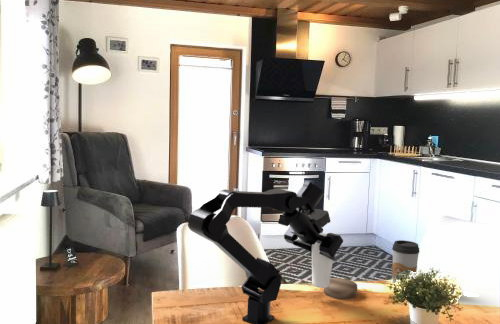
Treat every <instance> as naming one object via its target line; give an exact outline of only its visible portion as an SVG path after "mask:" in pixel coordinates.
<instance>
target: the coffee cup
mask: <svg viewBox="0 0 500 324" xmlns="http://www.w3.org/2000/svg"><path fill="white" fill-rule="evenodd" d="M391 250H392V284H393V283H395V282H396V279H395V276H396V274H399V273H401V272H403V271H405V270H411V271H413V272H416V273H417V270H418V260H419V254H420V247H419V244H418V243H417V242H415V241H410V240H403V239H402V240H401V239H400V240H395V241H394V242H393V244H392V247H391Z"/></svg>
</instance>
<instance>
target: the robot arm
mask: <svg viewBox="0 0 500 324" xmlns="http://www.w3.org/2000/svg"><path fill="white" fill-rule="evenodd" d="M323 197H324V191H323V189H321V188H320V187H319V186H317V185H316V184H313V182H312V181H310V180H305V181H304V183H303V184H302V186H301V188H299V190H298V191H297V193H296V192H295V191H292V190H286V189H282V188H273V189H268V190H266V191H263V192H262V191H261V192H260V191H244V190H243V191H242V190H241V191H240V190H229V189H222V190H220V191H219V192H217V193H216V194H215V195H214V196H213V197H212V198H210V199H208V200H207V201H205V202H203V203H202V204H201V205H200V206H199V207H198V208H197V209H195V210H193V211H192V212H191V213H190V214H189V217H188V220H187V227H188V229H189V230H190V231H192V232H193V233H195V234H197V236H200V237H202V238H204V239H206V240H207V241H210V242H212V243H213V244H214V245H215V246H216V247H218V248H219V249H220V251H222V252H223V253H224V254H225V255H226V256H228V257H229V258H230V259H231V260H232V261H233V262H234V263H235V264H237V265H238V267H240V268H241V269H242V270H243V271H244V272H245V275H246V280H245V281H244V282H243V284H242V285H241V288H240V289H241V291H242V293H243V294H244V295H246V296H247V297H248V298H247V312H246V313H247V314H246V315H244V316H242V321H246V322H248V323H251V324H268V323H270V322H272V320H274V319H276V318H275V315H273V314H271V302H274V301H276V300H277V298H278V296H279V293H280V289H281V286H282V279H283V278H282V274H281V273H280V272H281V270H280V269H277V268H276V266H275V265H274V264H273V263H272V262H270V261H267V260H265V259H262V258H260V257H258V256H257V257H256V258H255V256H253V254H251V253H250V252H249V251H248V250H247V249H246V248H245V247H244V246H243V245H242V244H241V243H240V242H239V241H238V240H236V239H235V237H233V235H231V234H230V233H229V230H228V226H227V223H228V222H229V221H230V220H231V218H232V214H233V212H234V210H235V209H236V208H257V209H258V208H261V209H262V208H266V209H267V208H268V209H269V208H270V209H272V210H277V211H280V212H283V213H282V214H280V215H279V218H278V220H277V221H278V222H277V224H279V225H281V226H284V227H288V226H289V227H288V228H287V230H286V231H285V233H284V234H283V239H284V241H286V243H289V244H292V245H293V246H295V247H297V248H300V249H303V250H305V251H308V252H309V253H311V254H312V244H313V245H314V244H315V243H316V242H317V243H320V246H319V250H320V253H319V254H321V255H323V256H325V257H327V258H329V259H331V260H333V261H334V260H335V258H336V254H337V253H338V251H339V249H340V248H341V246H342V245H343V242H344V238H342V236H341V234H340V235H339V234H337V233H334V232H328V233H326V234H327V235H326V236H323V235H320V233H324V232H323V231H324V229H323V228H324V227H325V226H326V225H327V224H330V223H331V218H330V213H329V211H328V210H325V209H320V208H318V209H317V208H316V207H317V205H318V204H319V202H320V201H321V199H322V198H323ZM216 212H217V213H216Z"/></svg>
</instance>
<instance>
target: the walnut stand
mask: <svg viewBox="0 0 500 324" xmlns="http://www.w3.org/2000/svg"><path fill="white" fill-rule="evenodd" d="M323 294H325V295H326V297H327V296H328V297H329V298H332V299H336V300H345V301H346V300H352V299H354V298H356V297H357V294H358V284H357V283H356V281H355V282H354V281H352V280H350V279H347V278H342V277H341V278H340V277H333V278H332V277H330V285H329V286H328V287H326V288H323Z"/></svg>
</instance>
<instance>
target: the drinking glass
mask: <svg viewBox="0 0 500 324" xmlns="http://www.w3.org/2000/svg"><path fill="white" fill-rule="evenodd" d="M327 234H328V233H326V232H325V233H324V232H322V233H320V235H323V236H326V235H327ZM319 246H320V243H317V242H316V243H315V244H314V245H313V244H312V253H311V284H312V286H314V287H316V288H320V289H324V288H326V287H328V286H329V285H330V279H331V278H332V277H331V275H332V270H333V262H334V260H331V259H329V258H327V257H325V256H323V255H321V254H319V253H320V250H319Z"/></svg>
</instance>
